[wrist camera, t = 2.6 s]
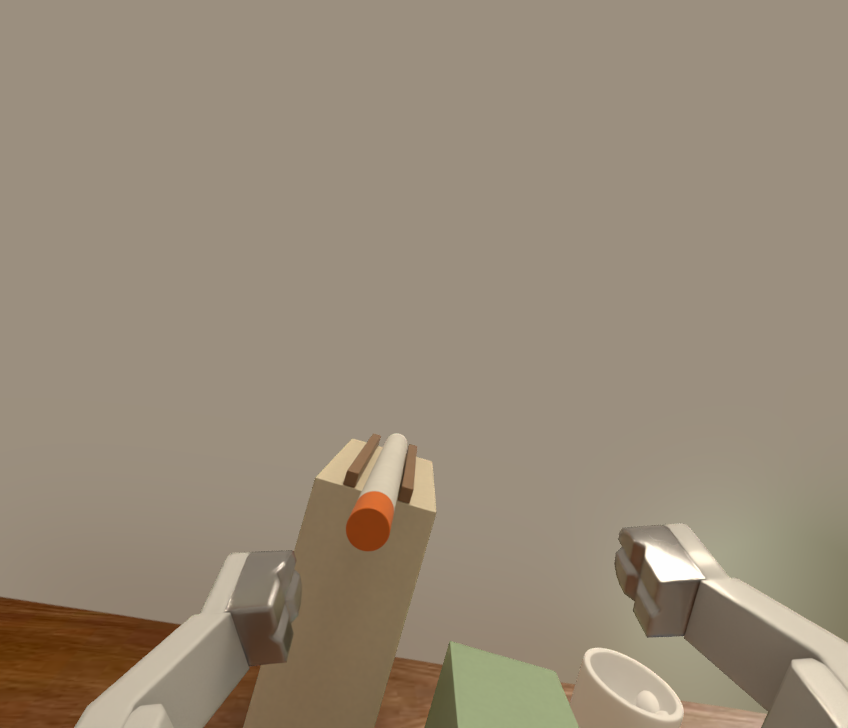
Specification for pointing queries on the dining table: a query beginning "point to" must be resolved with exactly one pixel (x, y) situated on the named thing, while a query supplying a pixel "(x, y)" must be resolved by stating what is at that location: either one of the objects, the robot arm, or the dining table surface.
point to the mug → (622, 694)
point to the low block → (496, 693)
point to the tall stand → (347, 599)
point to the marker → (378, 498)
